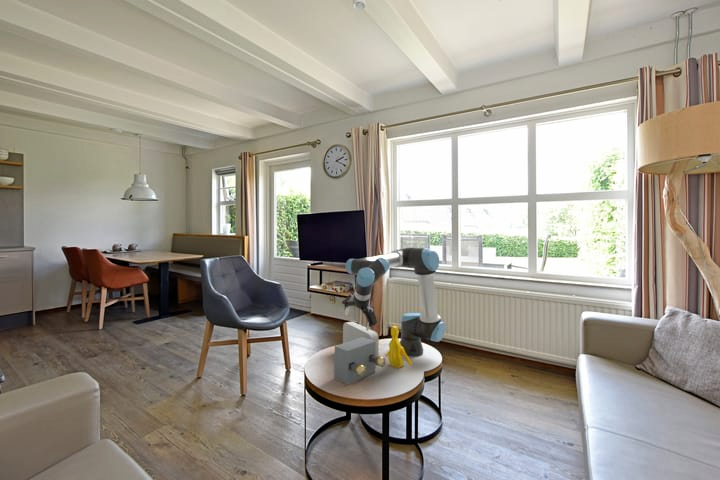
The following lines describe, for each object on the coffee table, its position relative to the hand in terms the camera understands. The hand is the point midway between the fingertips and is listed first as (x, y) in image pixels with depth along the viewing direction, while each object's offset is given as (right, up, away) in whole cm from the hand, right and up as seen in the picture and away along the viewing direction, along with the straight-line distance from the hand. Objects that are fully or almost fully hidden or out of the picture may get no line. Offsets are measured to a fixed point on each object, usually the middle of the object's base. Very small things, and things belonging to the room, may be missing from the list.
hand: (357, 321), depth 164 cm
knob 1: (-1, -21, -12) cm, 24 cm away
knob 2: (+9, -21, -2) cm, 23 cm away
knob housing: (-1, -27, -2) cm, 27 cm away
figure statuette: (+21, -27, +10) cm, 36 cm away
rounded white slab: (+1, -26, +20) cm, 33 cm away
